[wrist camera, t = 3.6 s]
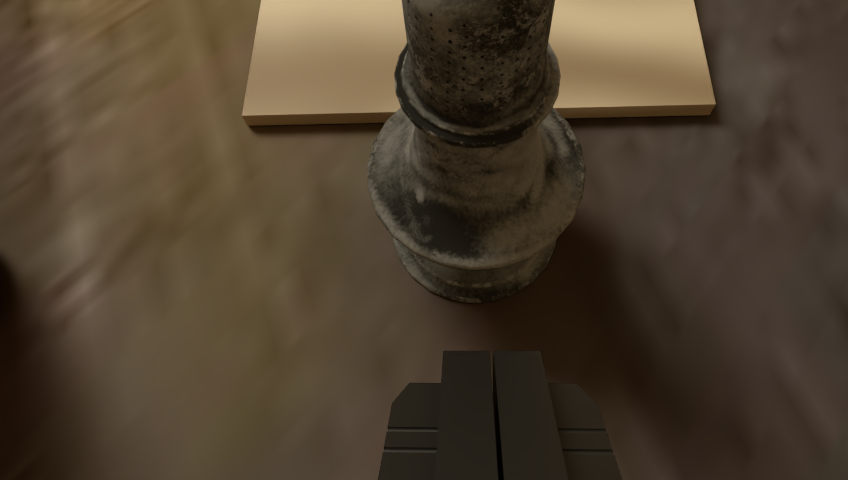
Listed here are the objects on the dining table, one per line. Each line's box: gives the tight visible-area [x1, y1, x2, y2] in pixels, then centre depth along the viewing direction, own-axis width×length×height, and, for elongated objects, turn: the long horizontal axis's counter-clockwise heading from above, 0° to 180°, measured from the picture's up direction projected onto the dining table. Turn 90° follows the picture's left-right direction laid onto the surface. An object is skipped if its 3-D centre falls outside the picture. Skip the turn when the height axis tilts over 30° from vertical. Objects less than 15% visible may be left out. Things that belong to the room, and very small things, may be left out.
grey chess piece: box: [367, 0, 586, 303], centre depth 15 cm, size 6×6×12 cm
